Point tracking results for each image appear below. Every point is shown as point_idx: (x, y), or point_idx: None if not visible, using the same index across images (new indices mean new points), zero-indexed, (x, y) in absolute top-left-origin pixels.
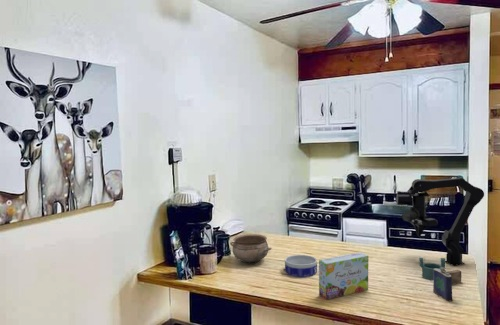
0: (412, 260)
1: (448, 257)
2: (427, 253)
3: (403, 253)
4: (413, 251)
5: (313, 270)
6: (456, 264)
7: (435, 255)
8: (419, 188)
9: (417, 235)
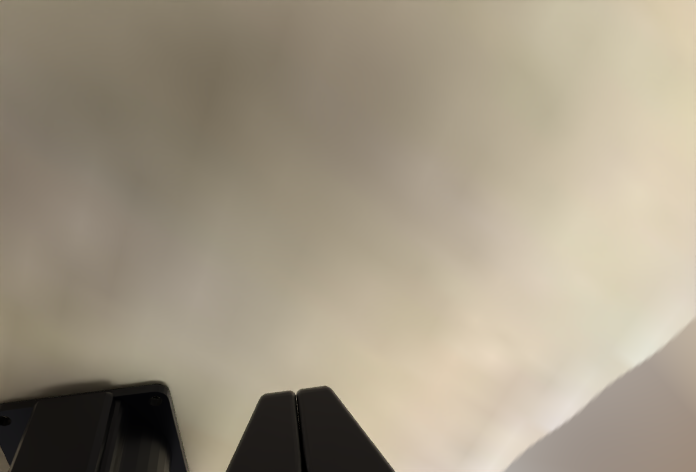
0: (366, 50)
1: (51, 453)
2: (504, 380)
3: (669, 125)
4: (644, 287)
5: None
6: (7, 440)
7: (409, 415)
8: None
9: (320, 400)
